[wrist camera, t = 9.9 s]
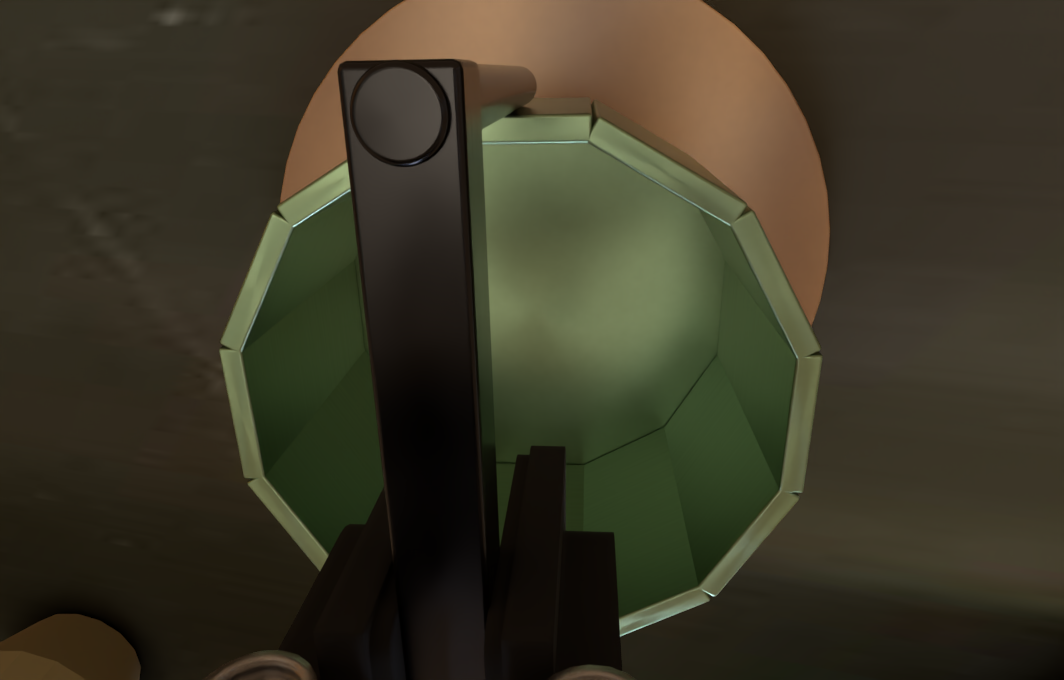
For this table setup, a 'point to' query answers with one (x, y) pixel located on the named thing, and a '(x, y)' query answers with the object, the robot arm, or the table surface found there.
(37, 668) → the squeeze bottle
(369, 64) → the pot
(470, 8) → the trivet
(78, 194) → the table surface
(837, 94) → the table surface
